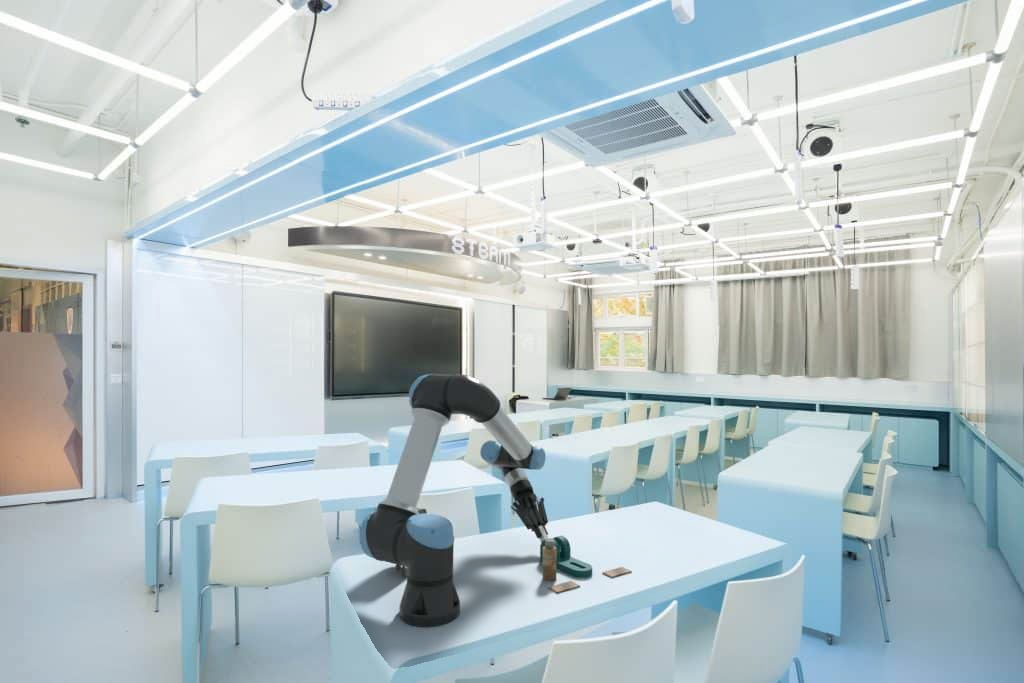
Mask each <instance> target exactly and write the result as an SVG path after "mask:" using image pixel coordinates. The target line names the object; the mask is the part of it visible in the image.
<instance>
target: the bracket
mask: <svg viewBox="0 0 1024 683" xmlns="http://www.w3.org/2000/svg"><path fill="white" fill-rule="evenodd" d="M546 540H553V541H554V547H556V571H557V570H558V571H560V572H561V573H565V574H566V575H569V576H571V577H573V578H578V579H586V578H591V577H592V576H593V566H592V565H591V564H590V563H587V562H584V561H582V560H580V559H577V558H574V557H573V556H571V545H570V542H569V540H568V539H567V537H565V535H564V536H563V535H559V536H554V537H553V538H551V537H550V538H549V539H546ZM546 540H543V541H542V543H541V542H540V546H539V551H540V552H539V558H540V559H539V562H540V563H541V564H543V547H544V546H545V541H546Z"/></svg>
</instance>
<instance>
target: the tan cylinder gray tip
mask: <svg viewBox="0 0 1024 683" xmlns="http://www.w3.org/2000/svg"><path fill="white" fill-rule="evenodd" d="M542 581H544V582H546V583H554V582H557V569H556V547H554V541H553V540H546V541H545V546H544V547H543V563H542Z"/></svg>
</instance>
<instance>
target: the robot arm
mask: <svg viewBox="0 0 1024 683" xmlns="http://www.w3.org/2000/svg"><path fill="white" fill-rule="evenodd" d="M408 398H409V400H408V402H409V406H410V407H411V411H410V412H411V415H412V417H413V420H412V424H411V427H410V429H409V433H408V435H407V438H406V441H405V444H404V447H403V450H402V453H401V456H400V458H399V461H398V464H397V467H396V470H395V473H394V476H393V478H392V482H391V484H390V488H389V489H388V492H387V496H386V498H385V499H383V500H382V501H380V502H378V505H377V508H376V511H373V512H370V513H369V514H368V515H367V516H365V517H364V518H363V520H362V522H361V525H360V528H359V534H358V535H359V536H358V538H359V540H358V541H359V544H360V546H361V550H362V551H363V553H364V554H365V555H366V556H368V557H369V558H372V559H374V560H376V561H379V562H386V563H390V564H394V565H396V564H398V565H401V567H402V566H405V568H406V571H407V576H406V584H405V587H404V591H403V593H402V597H401V600H400V603H399V615H398V616H399V619H400V620H401V621H402V622H404V623H405V624H408V625H410V626H411V625H412V626H416V627H426V628H427V627H436V626H441V625H444V624H447V623H450V622H452V621H454V620H455V619H456V618H457V617H458V616H459V615H460V613H461V600H460V598H459V594H458V591H457V587H456V584H455V581H454V544H455V536H454V527H453V524H452V522H451V521H450V519H448V518H447V517H445V516H442V515H439V514H435V513H427V514H426V513H424V514H419V512H418V510H417V507H418V503H419V501H420V497H421V494H422V491H423V487H424V486H425V482H426V478H427V476H428V471H429V469H430V466H431V463H432V460H433V457H434V454H435V450H436V447H437V445H438V442H439V438H440V435H441V431H442V428H443V427H445V426H447V425H448V424H450V420H451V417H452V415H463V416H464V415H465V416H467V417H470V418H472V419H473V420H474V421H475V422H476V423H479V424H482V425H483V427H484V428H485V429H486V430H487V431H488V432H489V433H490V434H491V435H492V437H493V438H495V440H496V441H495V440H491V439H490V440H487V441H485V442H484V443H483V444H482V445H481V447H480V451H479V452H480V453H479V454H480V457H481V459H482V460H483V461H485V462H486V463H487V464H490V465H491V466H493V467H495V468H497V469H500V471H501V472H502V475H503V477H504V480H505V482H506V484H507V486H508V488H509V491H510V493H511V495H512V497H513V500H514V502H513V503H512V504H511V506H510V509H512V510H513V511H514V512H515V513H516V515H518V517H519V519H520V520H521V522H522V523H523V525H524V526H525V527H526V529H527V530H531V532H534V535H535V536H536V538H537V539H539V542H540V544H541V543H542V541H543V540H546V539H550V538H549V533H548V530H547V528H546V525H547V524H548V523H549V521H548V520H549V519H548V517H547V511H546V508H545V504H544V503H545V498H544V497H537V494H535V493H534V488H533V485H532V484H531V481H530V480H529V477H528V475H527V473H526V471H525V470H531V471H532V470H536V471H537V470H538V471H540V470H541V469H543V467H544V465H545V463H546V457H547V456H546V451H545V449H544V448H543V447H540V446H537V445H536V446H533V445H532V443H530V441H529V440H528V439H527V438H526V436H525V435H524V433H523V432H522V431H520V429H519V427H517V426H516V424H515V422H514V421H513V420H512V419H511V417H509V415H508V414H507V413H506V412H505V410H504V409H503V408H502V406H501V401H500V399H499V398H498V396H497V395H496V394H495V393H494V392H493V391H492V390H491V389H490V388H489V387H488V386H486V385H485V383H483V382H481V381H480V380H478V379H477V378H474V377H473V376H470V375H467V374H444V373H443V374H439V373H430V374H424V375H421V376H418V378H416V379H415V381H413V383H412V384H411V387H410V389H409V392H408Z"/></svg>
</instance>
